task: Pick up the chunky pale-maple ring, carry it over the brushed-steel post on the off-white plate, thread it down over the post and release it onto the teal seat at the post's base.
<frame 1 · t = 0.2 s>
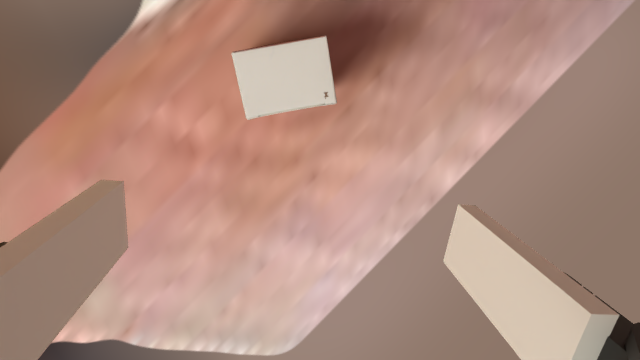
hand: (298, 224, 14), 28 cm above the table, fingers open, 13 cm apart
small box: (285, 73, 38), on the table
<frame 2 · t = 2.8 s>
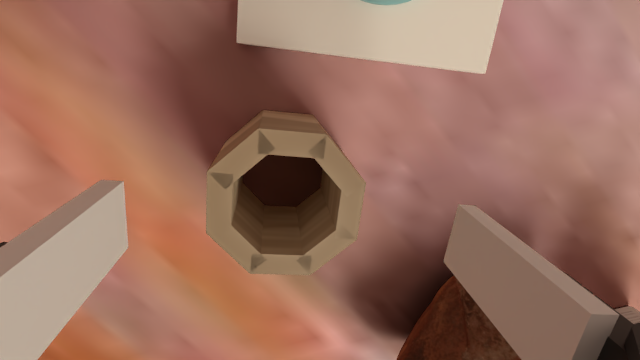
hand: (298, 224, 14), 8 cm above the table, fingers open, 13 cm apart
fossil: (453, 304, 27), on the table
maple ring: (283, 169, 22), on the table
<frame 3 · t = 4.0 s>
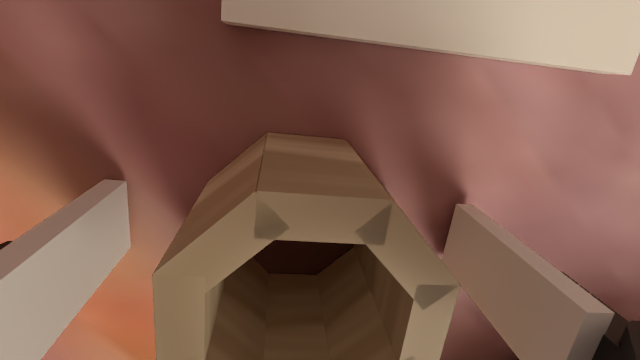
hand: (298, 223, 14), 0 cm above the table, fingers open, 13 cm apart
maple ring: (298, 222, 14), on the table
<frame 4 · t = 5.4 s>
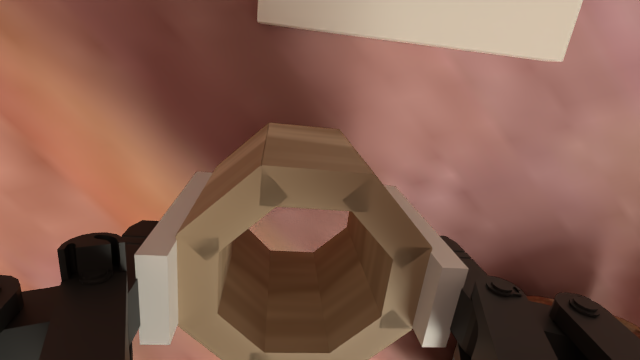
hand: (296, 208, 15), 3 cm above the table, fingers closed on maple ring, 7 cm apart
fossil: (499, 329, 24), on the table
maple ring: (296, 203, 16), point 3 cm above the table, touching gripper
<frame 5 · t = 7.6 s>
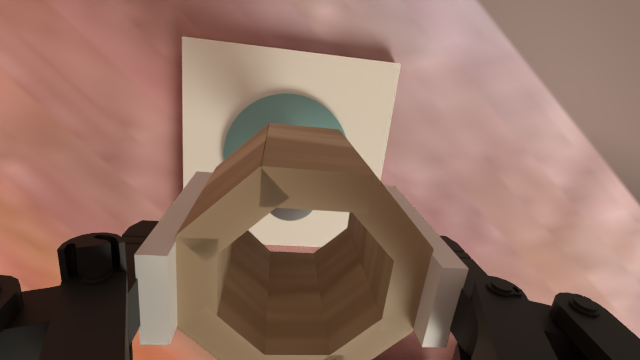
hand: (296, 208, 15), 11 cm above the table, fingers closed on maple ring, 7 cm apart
post stand: (286, 152, 25), on the table
maple ring: (296, 204, 16), point 10 cm above the table, touching gripper
when the fingers open (3 cm above the table, at t = 10.0 s): maple ring stays where it is, resting on post stand.
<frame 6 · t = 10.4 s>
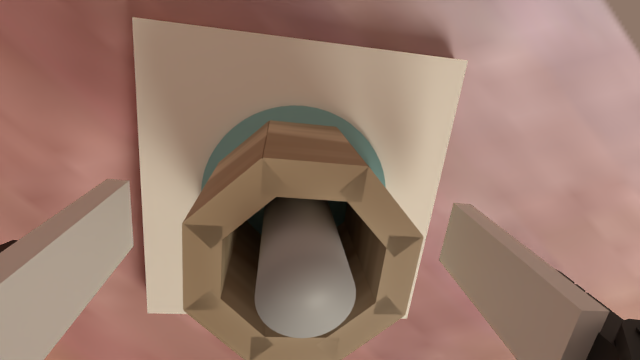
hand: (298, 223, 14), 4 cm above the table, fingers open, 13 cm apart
post stand: (294, 187, 18), on the table
maple ring: (295, 198, 16), point 2 cm above the table, touching post stand
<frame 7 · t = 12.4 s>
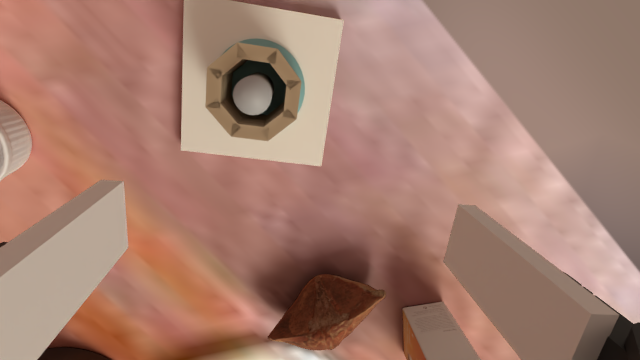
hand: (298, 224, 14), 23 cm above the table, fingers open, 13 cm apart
fossil: (323, 294, 43), on the table
small box: (422, 326, 46), on the table
post stand: (260, 86, 34), on the table
maple ring: (258, 87, 32), point 2 cm above the table, touching post stand
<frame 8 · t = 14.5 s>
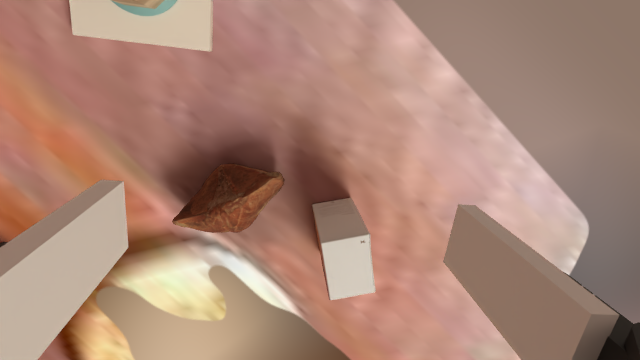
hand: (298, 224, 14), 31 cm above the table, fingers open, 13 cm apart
fossil: (234, 191, 46), on the table
small box: (335, 225, 49), on the table
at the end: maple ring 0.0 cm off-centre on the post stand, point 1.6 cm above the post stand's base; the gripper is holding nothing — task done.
